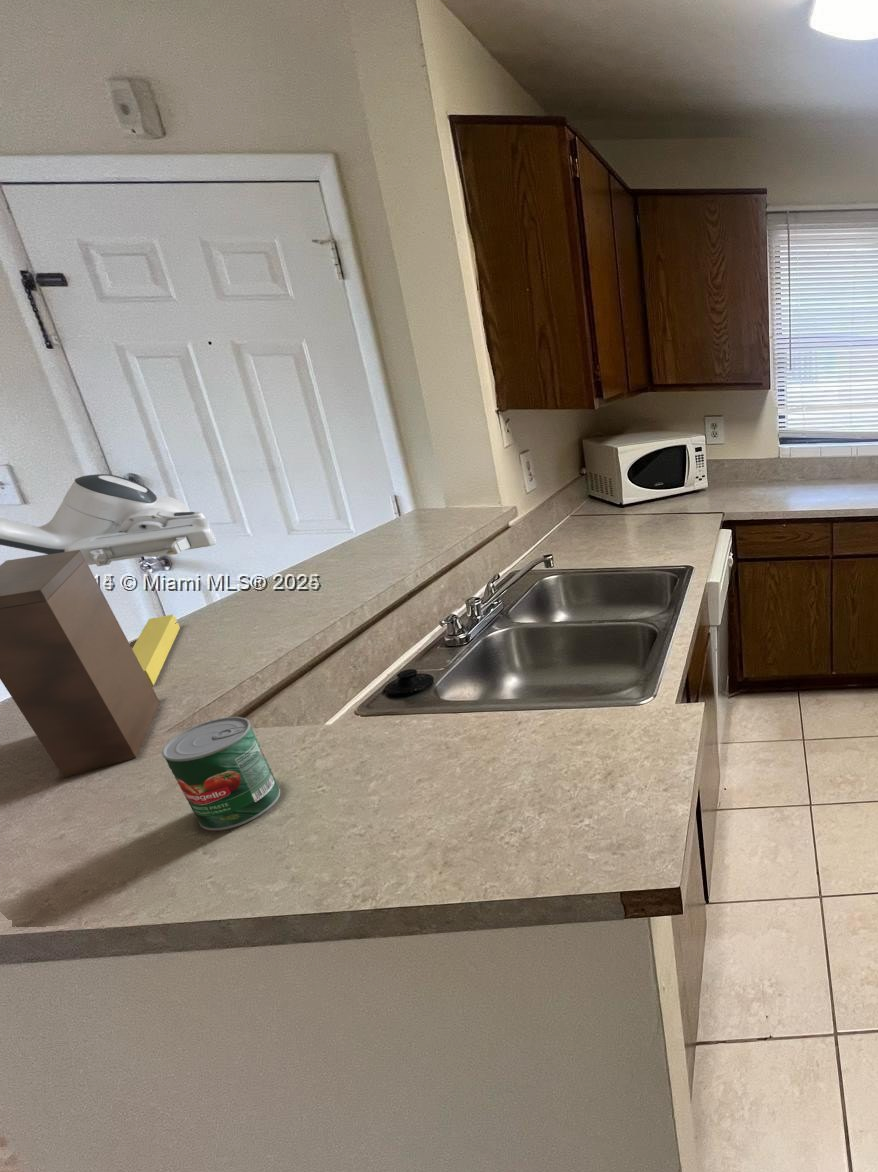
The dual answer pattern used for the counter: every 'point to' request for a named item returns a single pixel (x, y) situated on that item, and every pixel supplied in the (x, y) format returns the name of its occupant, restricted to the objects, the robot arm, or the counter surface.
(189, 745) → the canned tomato
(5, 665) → the walnut stand
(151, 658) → the yellow bar
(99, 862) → the counter surface
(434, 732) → the counter surface
